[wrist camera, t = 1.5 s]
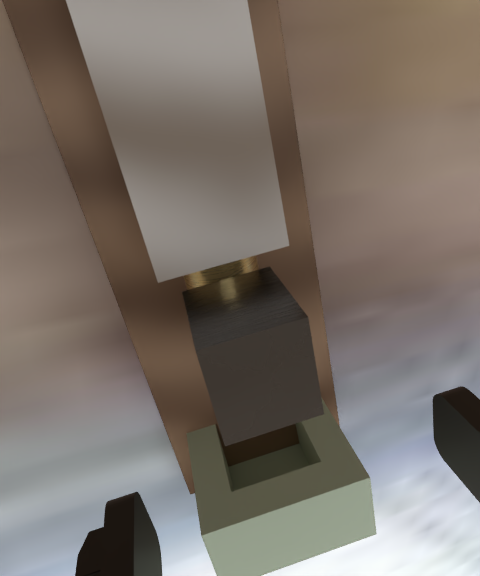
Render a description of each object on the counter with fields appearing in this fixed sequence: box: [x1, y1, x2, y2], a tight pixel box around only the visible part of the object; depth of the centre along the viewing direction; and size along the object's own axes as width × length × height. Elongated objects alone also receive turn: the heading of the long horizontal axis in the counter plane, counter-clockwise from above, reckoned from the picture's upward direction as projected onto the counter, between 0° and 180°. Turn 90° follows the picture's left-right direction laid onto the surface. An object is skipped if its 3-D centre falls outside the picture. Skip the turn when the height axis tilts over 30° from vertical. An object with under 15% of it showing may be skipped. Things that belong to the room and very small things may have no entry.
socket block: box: [186, 397, 376, 576], centre depth 24 cm, size 4×8×6 cm, turn 102°
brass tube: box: [182, 255, 324, 446], centre depth 16 cm, size 17×4×8 cm, turn 12°
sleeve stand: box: [3, 0, 340, 494], centre depth 20 cm, size 26×10×6 cm, turn 12°
